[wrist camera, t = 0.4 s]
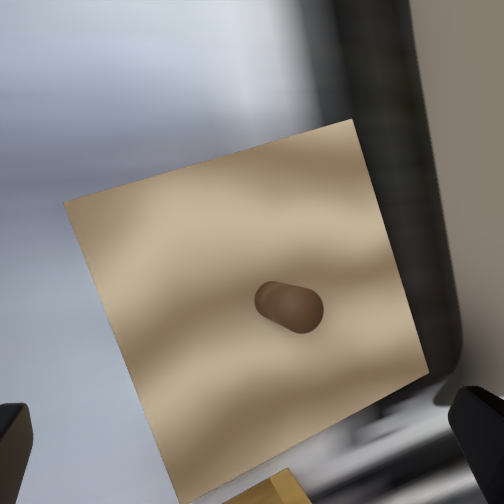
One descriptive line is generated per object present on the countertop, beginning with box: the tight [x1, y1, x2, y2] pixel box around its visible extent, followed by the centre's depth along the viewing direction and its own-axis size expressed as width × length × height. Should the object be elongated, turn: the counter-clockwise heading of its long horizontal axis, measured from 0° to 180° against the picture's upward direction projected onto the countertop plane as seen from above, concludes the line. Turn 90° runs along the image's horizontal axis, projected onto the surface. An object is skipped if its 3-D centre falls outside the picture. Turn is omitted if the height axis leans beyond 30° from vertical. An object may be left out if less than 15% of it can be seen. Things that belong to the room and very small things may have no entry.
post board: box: [63, 119, 429, 504], centre depth 19 cm, size 16×16×6 cm
